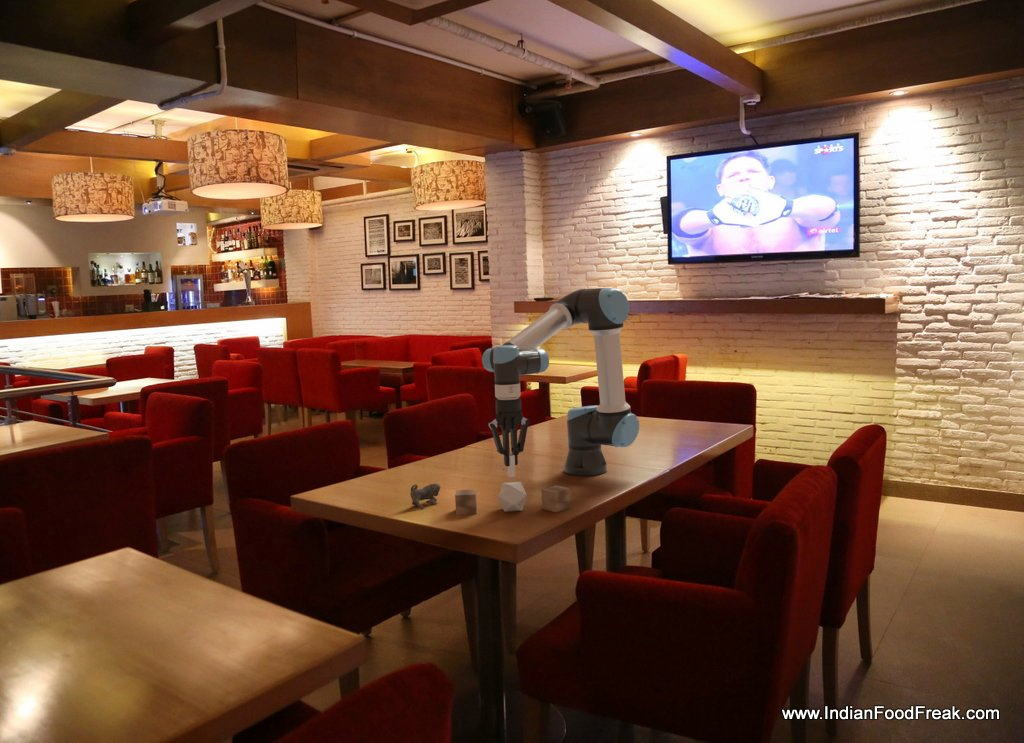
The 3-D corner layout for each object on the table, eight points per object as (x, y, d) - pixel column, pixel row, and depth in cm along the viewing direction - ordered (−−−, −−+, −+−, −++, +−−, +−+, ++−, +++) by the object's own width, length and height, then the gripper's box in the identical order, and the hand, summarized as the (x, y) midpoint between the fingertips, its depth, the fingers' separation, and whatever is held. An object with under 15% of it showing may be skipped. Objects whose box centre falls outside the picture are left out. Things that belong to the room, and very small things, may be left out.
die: (517, 517, 229) (534, 487, 231) (490, 502, 230) (507, 472, 232) (517, 520, 237) (533, 490, 240) (491, 505, 238) (507, 476, 241)
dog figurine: (418, 510, 239) (417, 486, 238) (406, 507, 243) (405, 484, 242) (447, 501, 248) (446, 478, 247) (435, 499, 252) (434, 476, 251)
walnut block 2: (556, 504, 239) (556, 485, 238) (570, 508, 234) (570, 488, 234) (542, 508, 235) (541, 489, 235) (556, 512, 231) (555, 492, 230)
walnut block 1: (477, 508, 239) (476, 489, 238) (476, 514, 233) (475, 494, 232) (457, 509, 238) (456, 490, 238) (456, 515, 233) (455, 495, 232)
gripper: (491, 401, 226) (495, 481, 229) (533, 397, 230) (536, 476, 233) (483, 398, 233) (486, 476, 236) (524, 394, 237) (527, 471, 240)
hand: (511, 476), depth 234 cm, fingers closed
